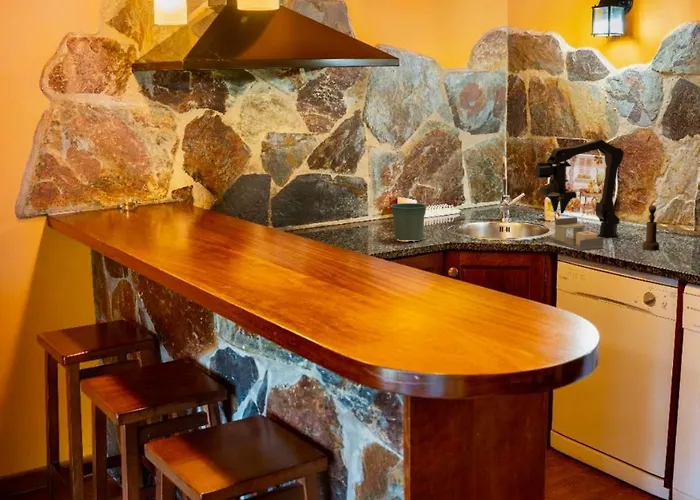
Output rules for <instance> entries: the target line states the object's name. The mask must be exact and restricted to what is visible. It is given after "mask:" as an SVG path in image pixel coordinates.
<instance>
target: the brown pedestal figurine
mask: <svg viewBox="0 0 700 500" xmlns="http://www.w3.org/2000/svg"><path fill="white" fill-rule="evenodd" d="M648 211H649V216H648V218H649V221H646V232H645V233H646V235H645V240H644V241H643V242H642V250H646V251H659V250H660V243H659V242H658V240H657V230H658V229H657V228H658V227H657V225H658V222H657V221H655V219H656V216H655V214H656V211H657V206H656V205H649V206H648Z"/></svg>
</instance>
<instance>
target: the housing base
mask: <svg viewBox="0 0 700 500" xmlns="http://www.w3.org/2000/svg"><path fill="white" fill-rule="evenodd" d="M604 239H605V237H602V238H601V237H600V238H597V239H589V240H580V245H577V244H576V238H574V237H566V242H563V241H560V240H557V239H555V238H554V239H553V243H554V242H555V243H554V244H557V243H558V245H561V246H564V247H567V248H570V249H573V250H578V251H586V250H587V251H589V250H598V249H603V248H604V242H605V241H604Z"/></svg>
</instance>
